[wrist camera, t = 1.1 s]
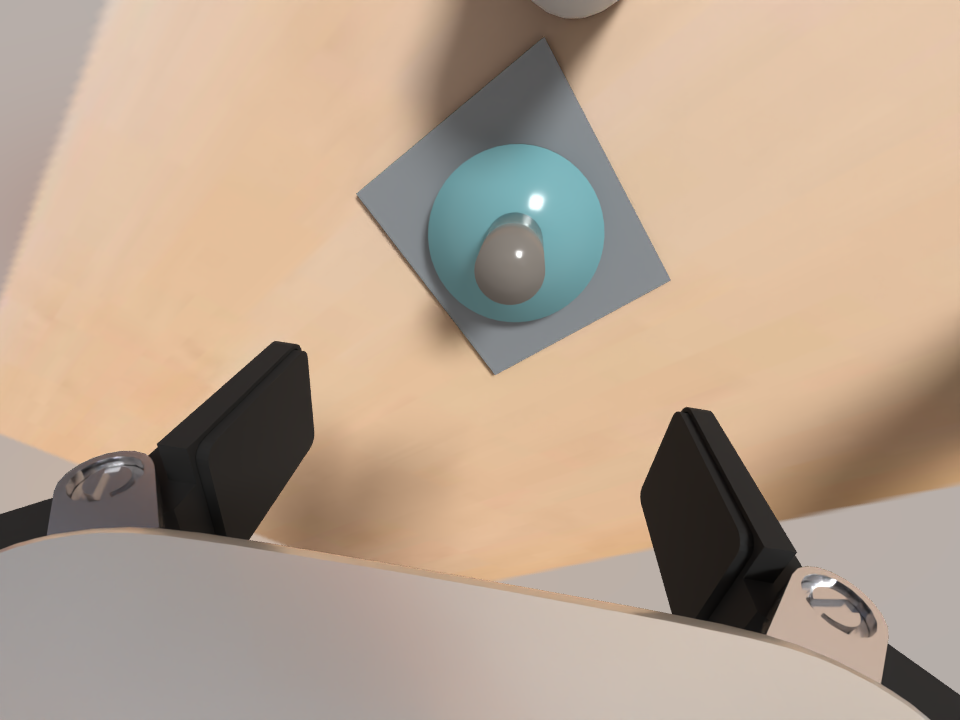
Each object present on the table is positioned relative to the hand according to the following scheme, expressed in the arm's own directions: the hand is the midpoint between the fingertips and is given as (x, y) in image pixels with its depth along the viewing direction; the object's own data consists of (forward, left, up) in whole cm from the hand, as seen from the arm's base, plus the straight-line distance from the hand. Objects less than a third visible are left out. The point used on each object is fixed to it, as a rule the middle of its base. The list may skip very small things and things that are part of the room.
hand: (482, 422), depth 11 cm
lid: (0, 0, -20) cm, 20 cm away
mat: (0, 0, -20) cm, 20 cm away
